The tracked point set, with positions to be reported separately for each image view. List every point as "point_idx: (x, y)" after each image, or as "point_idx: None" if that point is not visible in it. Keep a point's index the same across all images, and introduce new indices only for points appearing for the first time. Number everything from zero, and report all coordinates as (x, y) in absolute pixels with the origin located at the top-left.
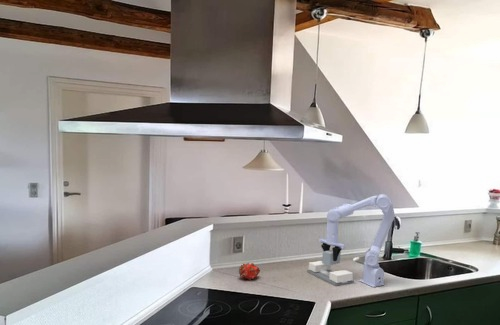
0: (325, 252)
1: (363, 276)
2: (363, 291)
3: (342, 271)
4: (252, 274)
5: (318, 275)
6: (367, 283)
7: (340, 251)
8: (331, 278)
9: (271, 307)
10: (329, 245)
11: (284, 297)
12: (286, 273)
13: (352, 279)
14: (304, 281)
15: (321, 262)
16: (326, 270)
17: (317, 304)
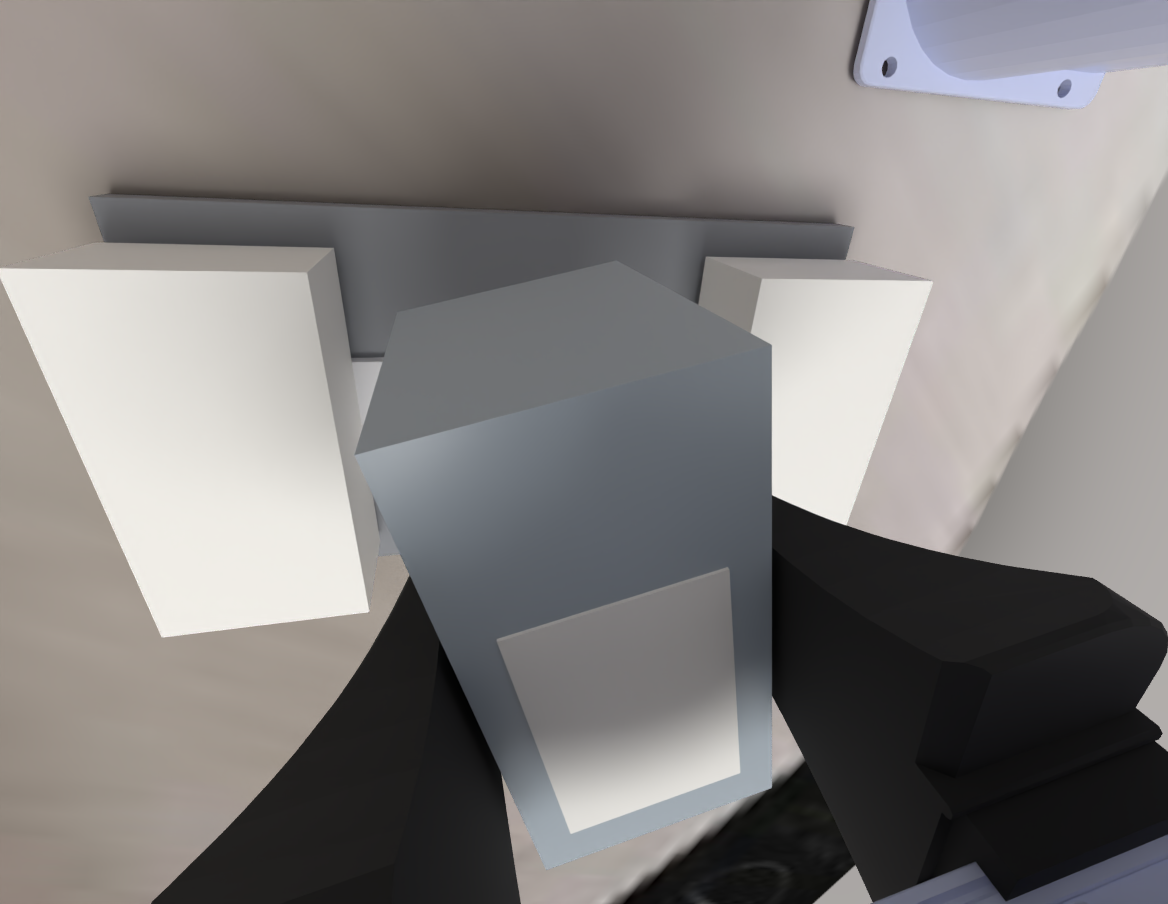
0: (633, 837)
1: (992, 42)
2: (1012, 330)
3: (786, 388)
4: None
5: None
6: (1004, 87)
7: (768, 357)
8: None
9: (746, 886)
10: (441, 893)
11: (696, 838)
12: (242, 754)
13: (859, 264)
14: None
15: (191, 428)
16: (347, 339)
17: None
